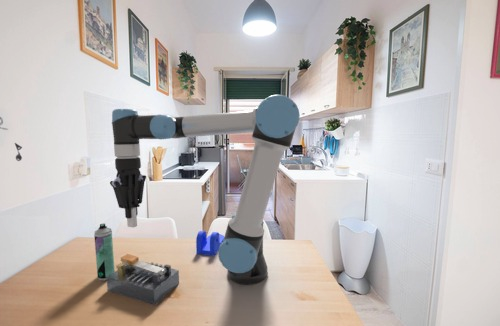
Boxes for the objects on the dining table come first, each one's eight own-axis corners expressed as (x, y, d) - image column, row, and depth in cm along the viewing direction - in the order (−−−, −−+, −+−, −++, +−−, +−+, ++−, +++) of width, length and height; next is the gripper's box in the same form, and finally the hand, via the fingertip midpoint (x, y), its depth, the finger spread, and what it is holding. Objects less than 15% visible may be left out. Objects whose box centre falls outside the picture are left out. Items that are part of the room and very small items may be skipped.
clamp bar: (167, 273, 83) (167, 266, 82) (160, 278, 80) (161, 270, 79) (127, 260, 89) (127, 253, 88) (120, 264, 86) (120, 257, 85)
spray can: (109, 270, 95) (105, 220, 93) (117, 274, 92) (114, 223, 90) (94, 277, 91) (90, 225, 88) (102, 282, 88) (98, 228, 85)
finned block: (179, 283, 87) (178, 259, 86) (154, 305, 76) (153, 278, 75) (135, 272, 94) (134, 250, 93) (107, 290, 83) (105, 266, 82)
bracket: (214, 255, 107) (214, 236, 106) (196, 254, 109) (196, 234, 108) (226, 238, 125) (226, 221, 123) (210, 237, 126) (210, 220, 125)
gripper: (134, 155, 89) (138, 218, 91) (101, 158, 76) (107, 231, 79) (151, 155, 86) (154, 221, 89) (119, 159, 74) (124, 235, 77)
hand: (132, 226), depth 84 cm, fingers closed
